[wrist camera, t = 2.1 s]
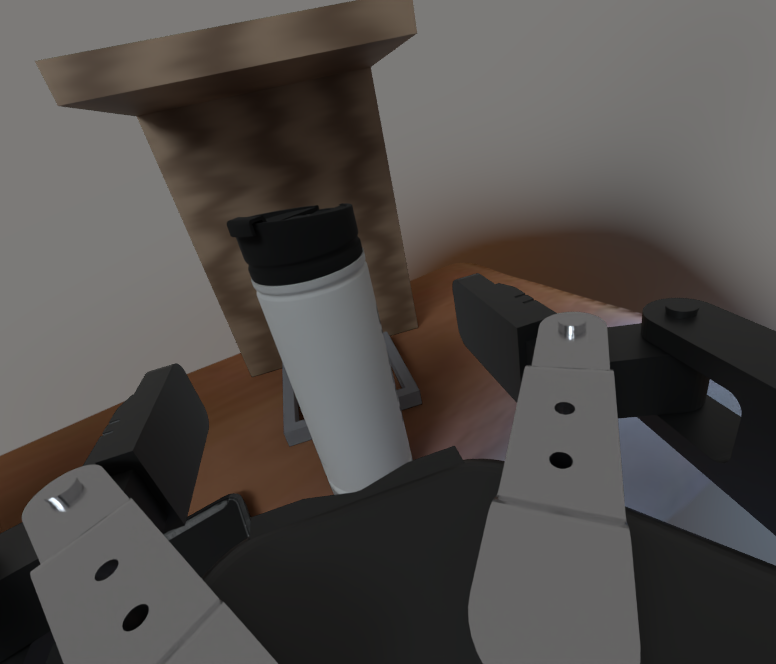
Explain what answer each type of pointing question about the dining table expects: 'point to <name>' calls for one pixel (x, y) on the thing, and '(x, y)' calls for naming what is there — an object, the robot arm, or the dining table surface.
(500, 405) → the dining table surface
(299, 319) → the travel mug
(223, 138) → the overhang shelf
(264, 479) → the dining table surface
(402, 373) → the seat frame
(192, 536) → the phone
